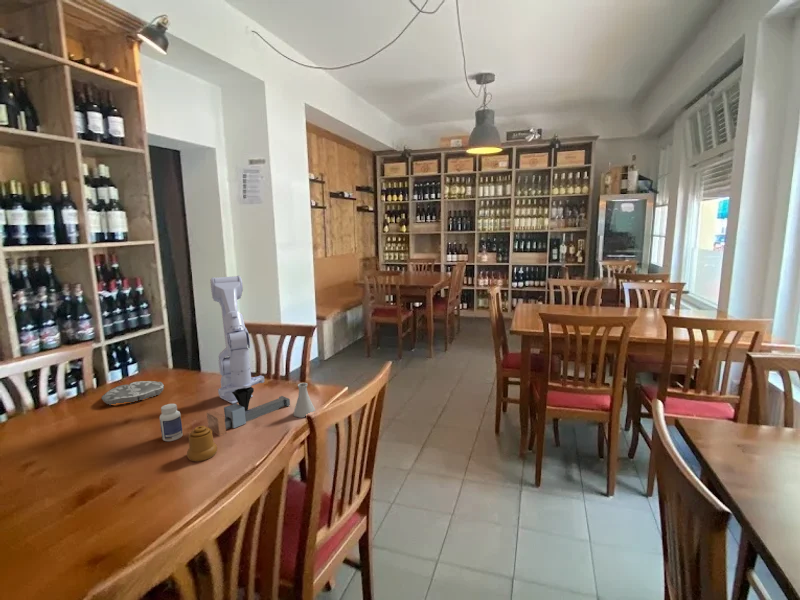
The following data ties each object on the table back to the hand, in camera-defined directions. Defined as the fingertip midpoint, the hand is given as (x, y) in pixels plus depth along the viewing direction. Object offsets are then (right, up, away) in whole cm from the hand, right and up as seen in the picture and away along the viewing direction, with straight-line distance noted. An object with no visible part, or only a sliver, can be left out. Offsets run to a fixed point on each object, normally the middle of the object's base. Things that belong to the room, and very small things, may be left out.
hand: (244, 410), depth 133 cm
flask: (+18, -3, +5) cm, 19 cm away
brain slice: (-49, -1, +23) cm, 54 cm away
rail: (+2, -3, +3) cm, 4 cm away
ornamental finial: (-4, -7, -19) cm, 21 cm away
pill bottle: (-18, -6, -9) cm, 21 cm away
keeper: (-2, -4, -2) cm, 5 cm away
